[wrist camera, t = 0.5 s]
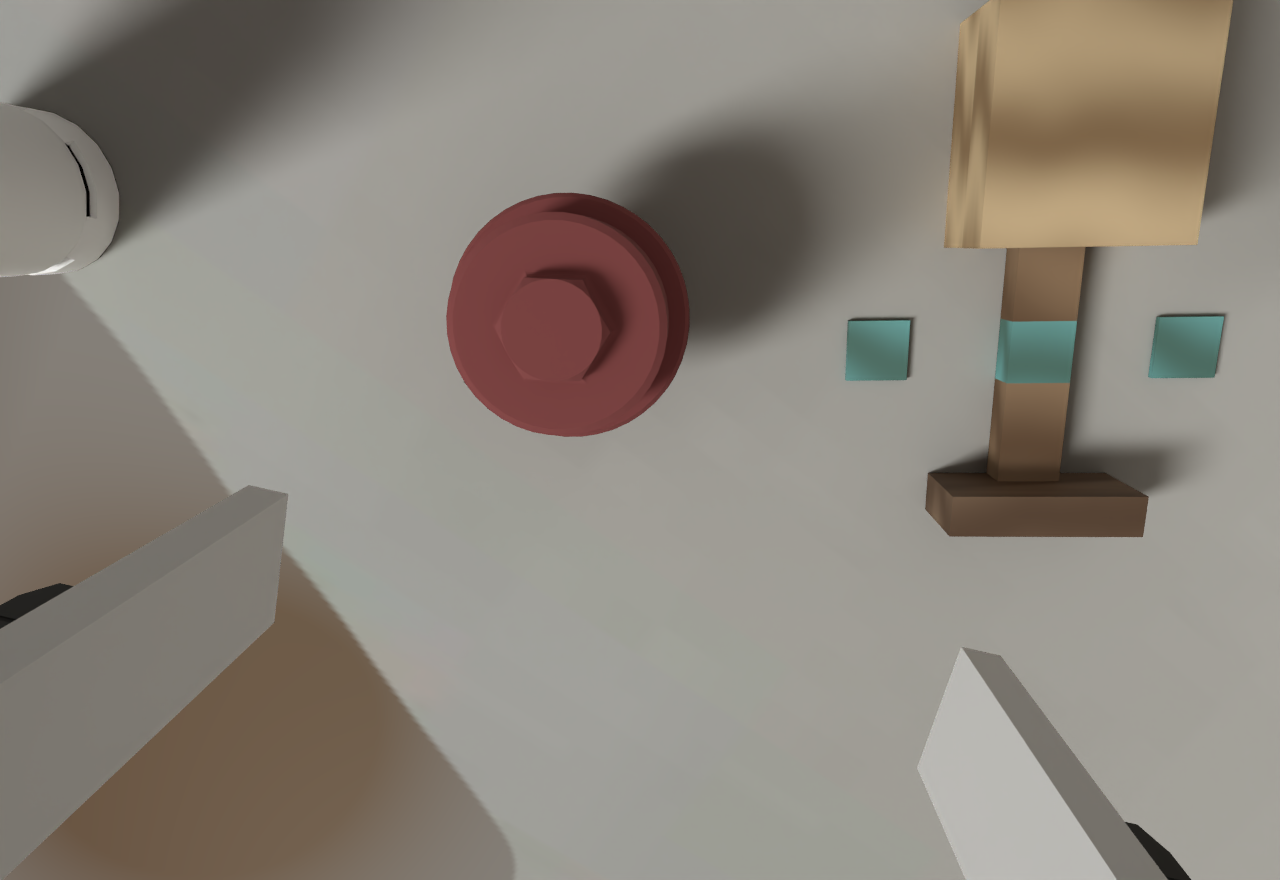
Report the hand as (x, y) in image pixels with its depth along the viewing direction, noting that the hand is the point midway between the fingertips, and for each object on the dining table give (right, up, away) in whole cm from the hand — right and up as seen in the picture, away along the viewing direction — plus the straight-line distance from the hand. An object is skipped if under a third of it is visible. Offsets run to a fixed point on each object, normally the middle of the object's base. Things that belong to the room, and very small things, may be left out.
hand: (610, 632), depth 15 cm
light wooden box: (+20, +18, +22) cm, 35 cm away
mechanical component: (-2, +11, +26) cm, 28 cm away
